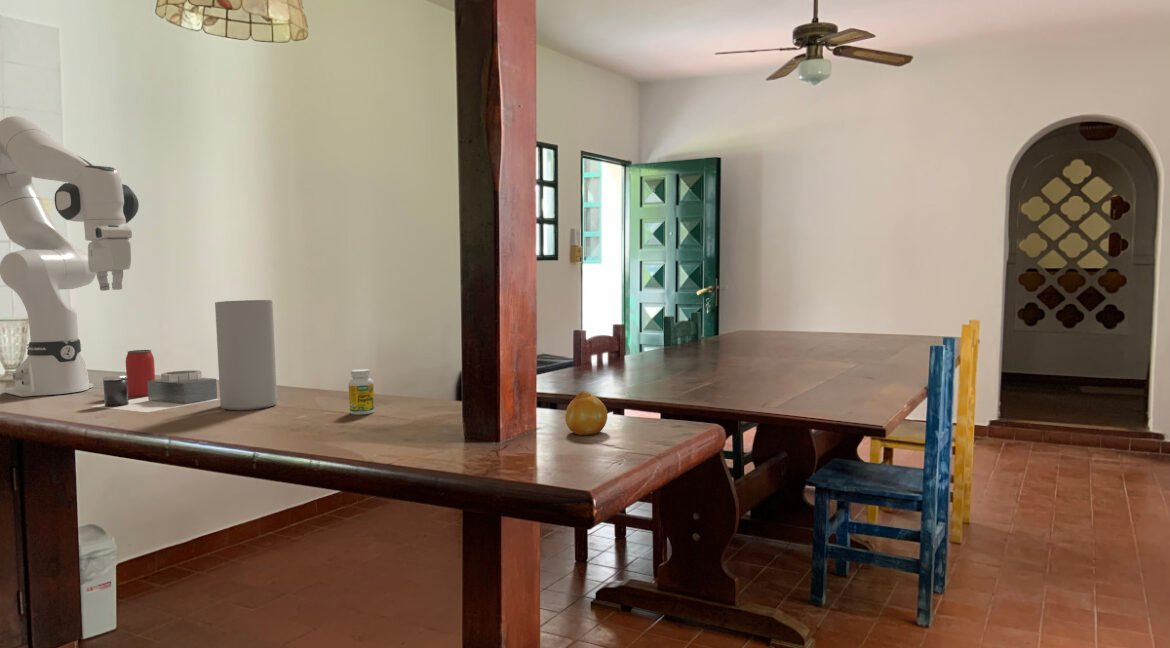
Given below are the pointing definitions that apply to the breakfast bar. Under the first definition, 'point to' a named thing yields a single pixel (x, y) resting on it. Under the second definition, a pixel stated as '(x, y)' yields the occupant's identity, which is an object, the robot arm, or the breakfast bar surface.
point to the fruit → (586, 414)
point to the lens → (115, 390)
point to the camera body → (182, 387)
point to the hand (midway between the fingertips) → (111, 290)
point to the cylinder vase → (246, 354)
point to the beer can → (139, 372)
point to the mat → (148, 405)
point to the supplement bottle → (361, 392)
